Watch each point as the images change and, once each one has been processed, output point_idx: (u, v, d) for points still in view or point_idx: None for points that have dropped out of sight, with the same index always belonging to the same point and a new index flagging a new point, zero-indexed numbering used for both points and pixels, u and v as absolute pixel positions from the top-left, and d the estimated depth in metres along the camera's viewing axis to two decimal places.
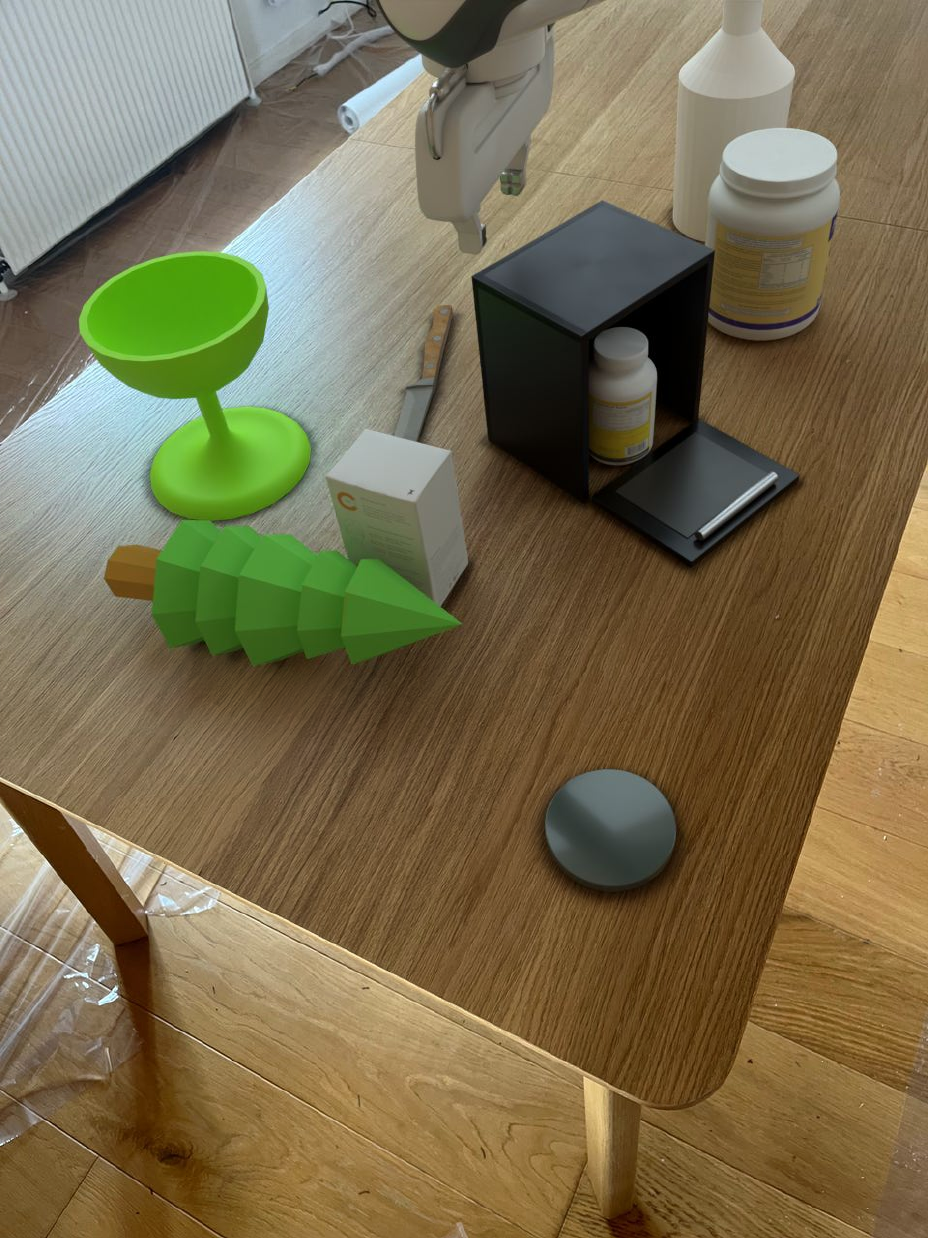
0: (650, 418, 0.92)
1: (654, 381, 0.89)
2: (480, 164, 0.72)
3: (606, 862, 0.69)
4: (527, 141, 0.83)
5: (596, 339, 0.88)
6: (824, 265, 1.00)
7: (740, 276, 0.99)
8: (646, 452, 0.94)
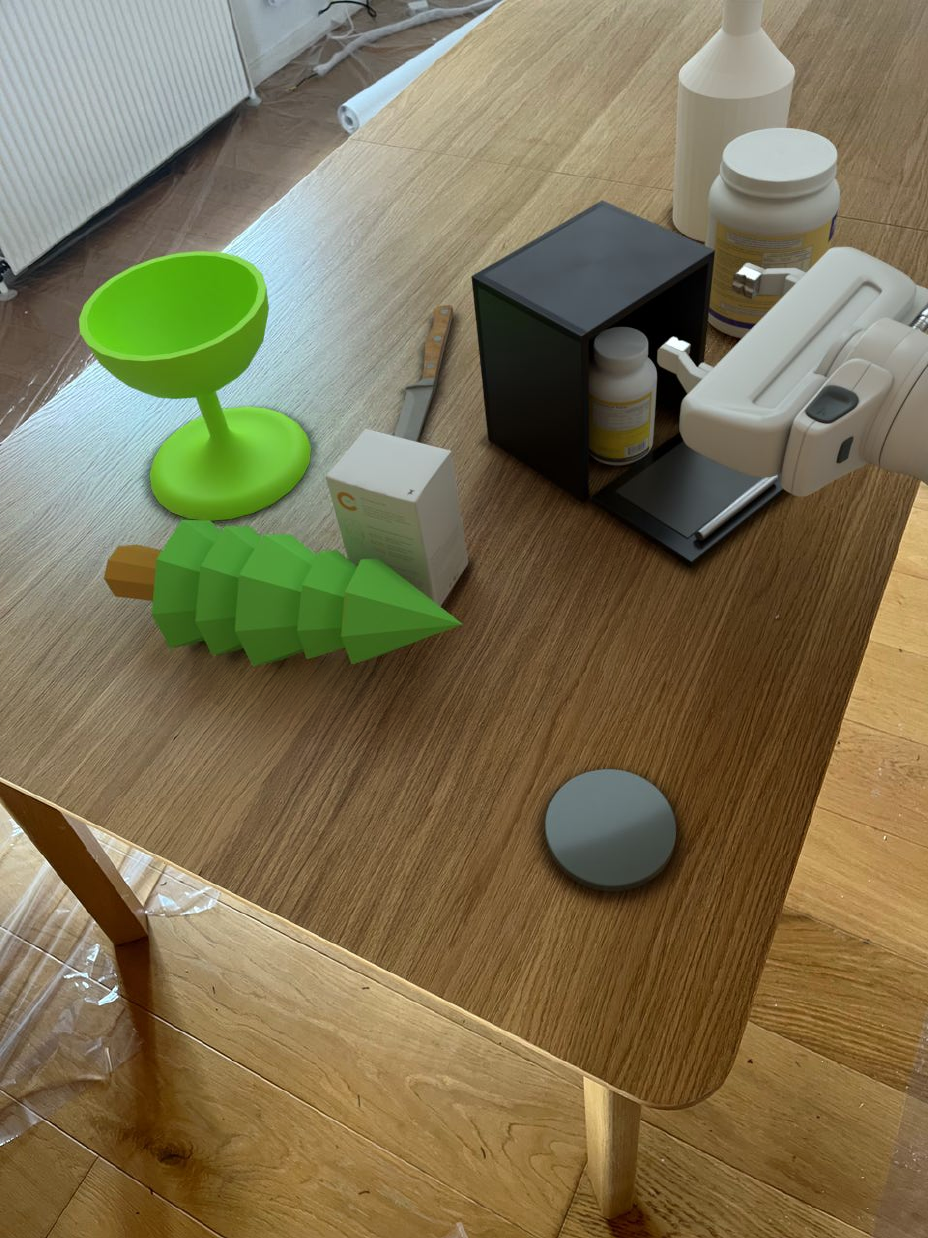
0: (650, 418, 0.92)
1: (654, 381, 0.89)
2: (846, 280, 0.72)
3: (606, 862, 0.69)
4: (701, 367, 0.70)
5: (596, 339, 0.88)
6: None
7: None
8: (646, 452, 0.94)
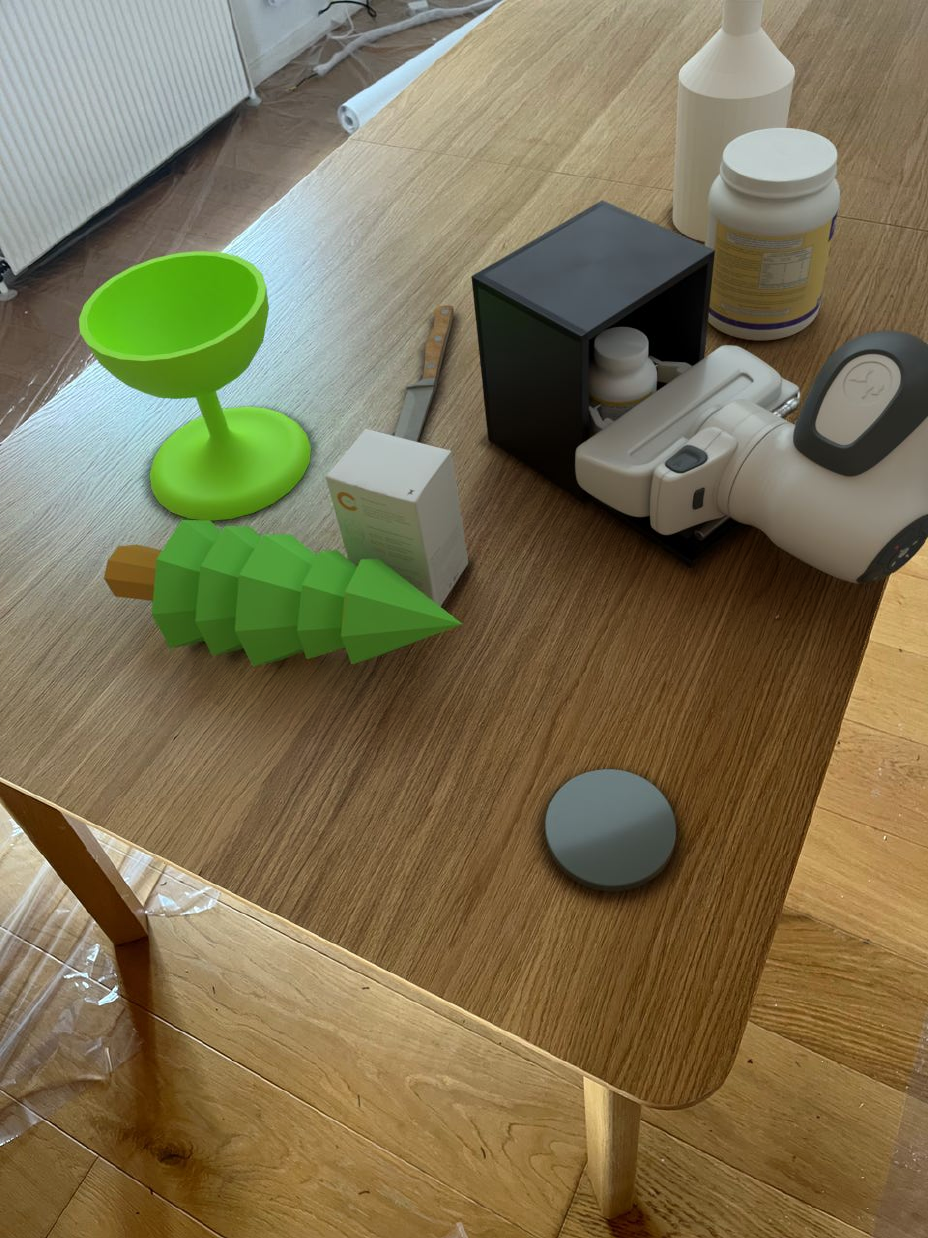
0: None
1: (654, 381, 0.89)
2: (727, 370, 0.89)
3: (606, 862, 0.69)
4: (605, 421, 0.87)
5: (596, 339, 0.88)
6: (824, 265, 1.00)
7: (740, 276, 0.99)
8: None
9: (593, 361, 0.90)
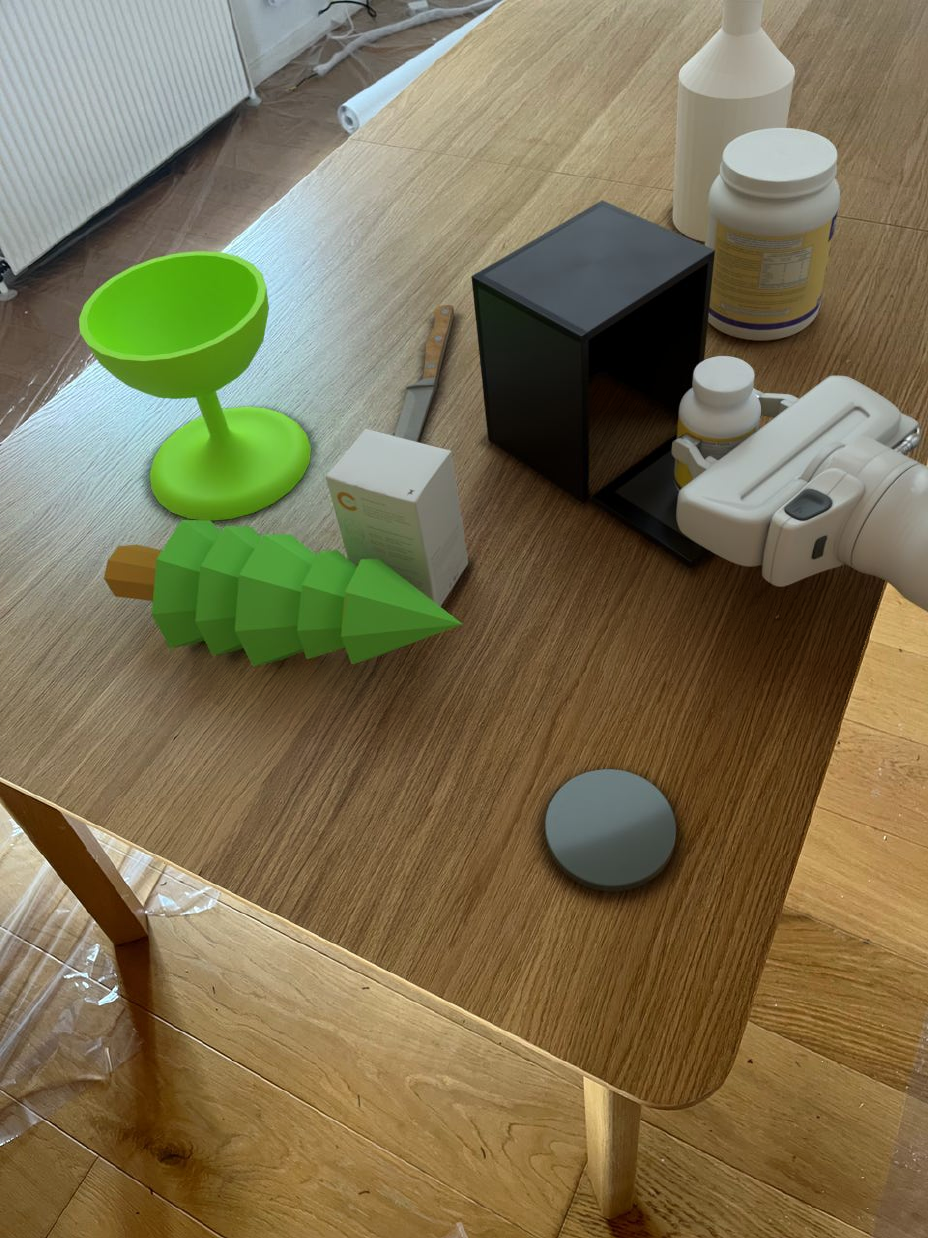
0: None
1: (759, 415, 0.81)
2: (839, 404, 0.81)
3: (606, 862, 0.69)
4: (708, 460, 0.79)
5: (696, 370, 0.80)
6: (824, 265, 1.00)
7: (740, 276, 0.99)
8: None
9: (690, 393, 0.82)
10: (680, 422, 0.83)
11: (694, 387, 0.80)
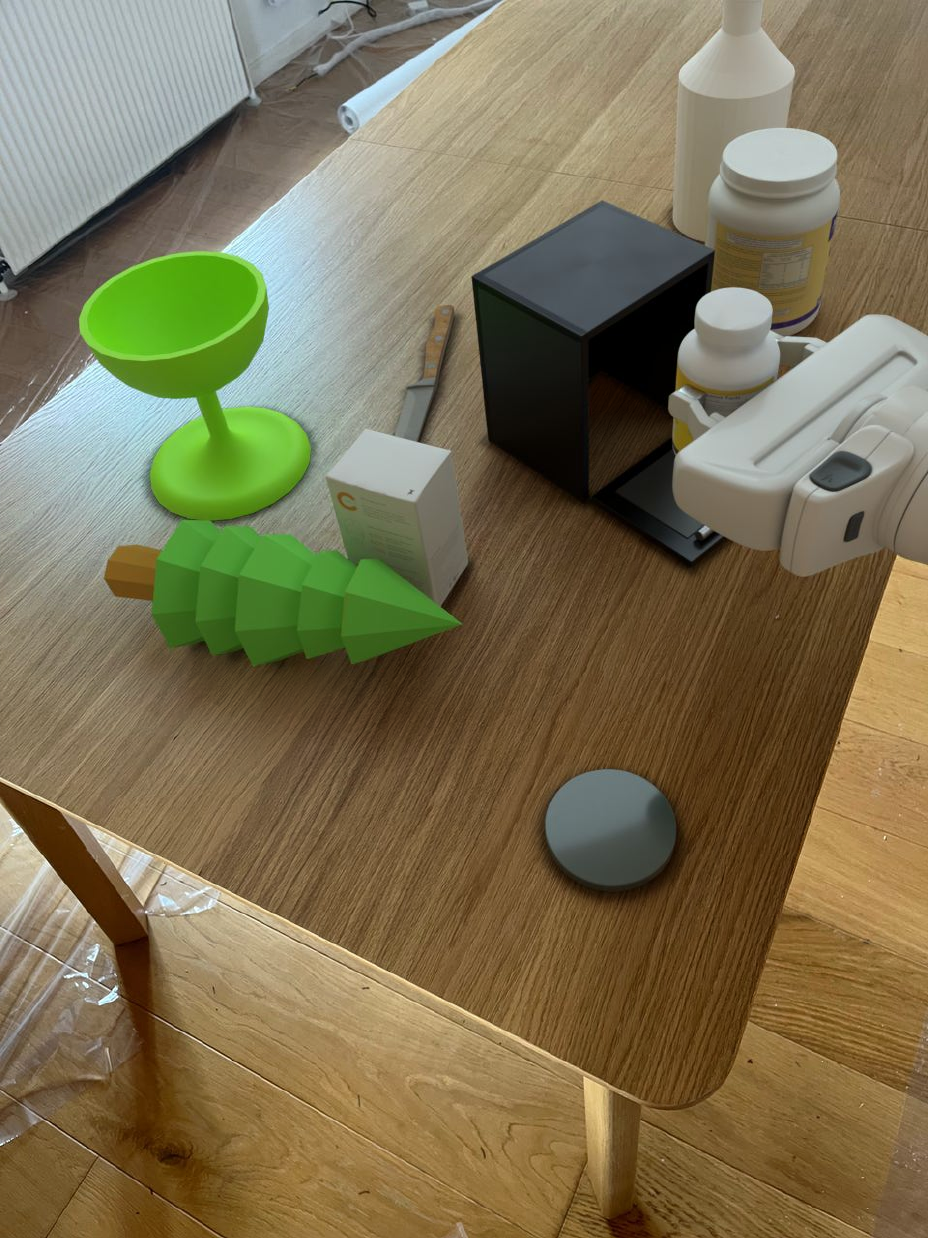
0: None
1: (778, 362, 0.65)
2: (878, 348, 0.65)
3: (606, 862, 0.69)
4: (713, 417, 0.63)
5: (699, 304, 0.64)
6: (824, 265, 1.00)
7: (740, 276, 0.99)
8: None
9: (692, 335, 0.66)
10: (679, 371, 0.67)
11: (696, 326, 0.64)
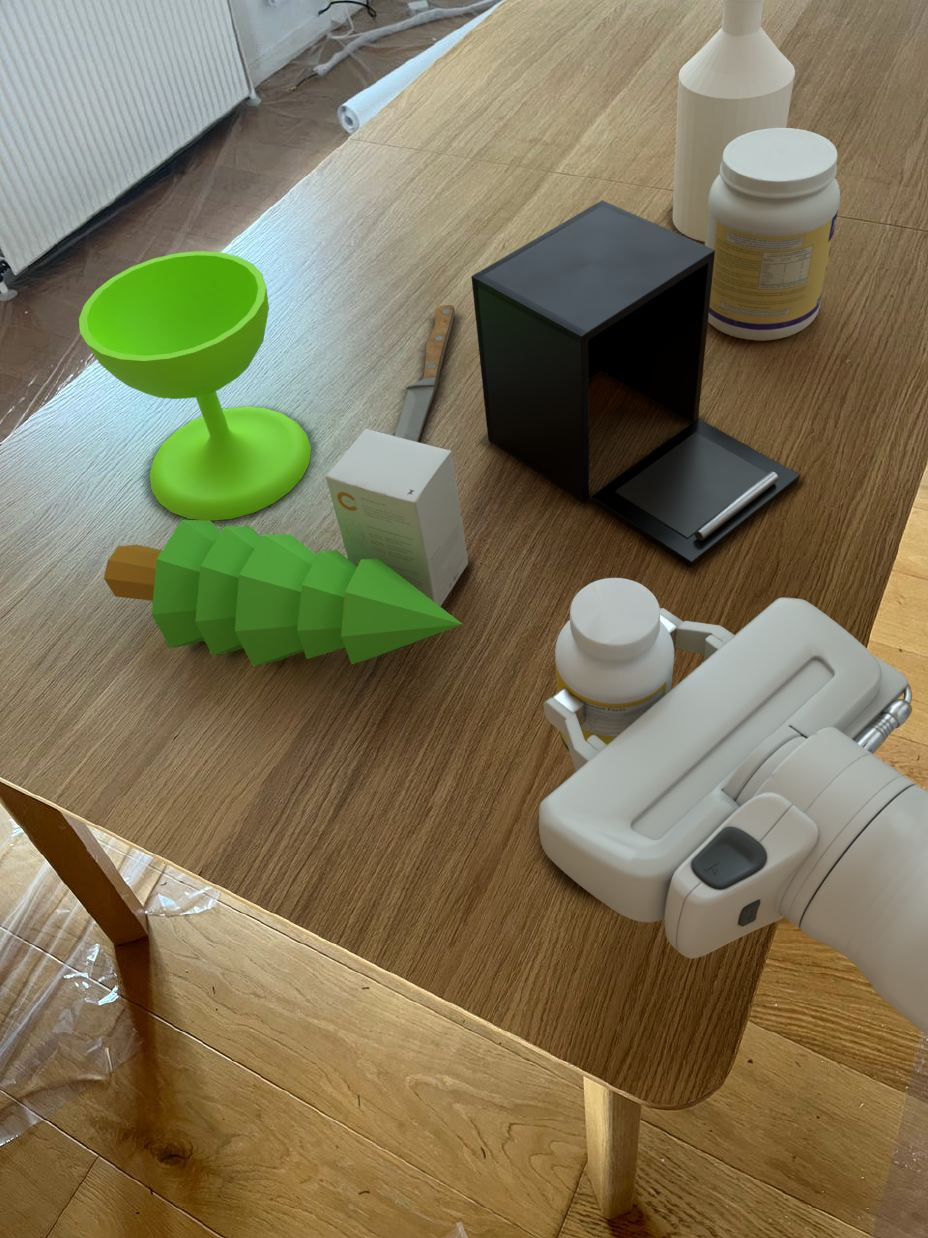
0: None
1: (670, 666, 0.55)
2: (789, 651, 0.54)
3: None
4: (590, 742, 0.53)
5: (575, 602, 0.54)
6: (824, 265, 1.00)
7: (740, 276, 0.99)
8: None
9: (571, 628, 0.56)
10: (556, 669, 0.56)
11: (571, 629, 0.54)
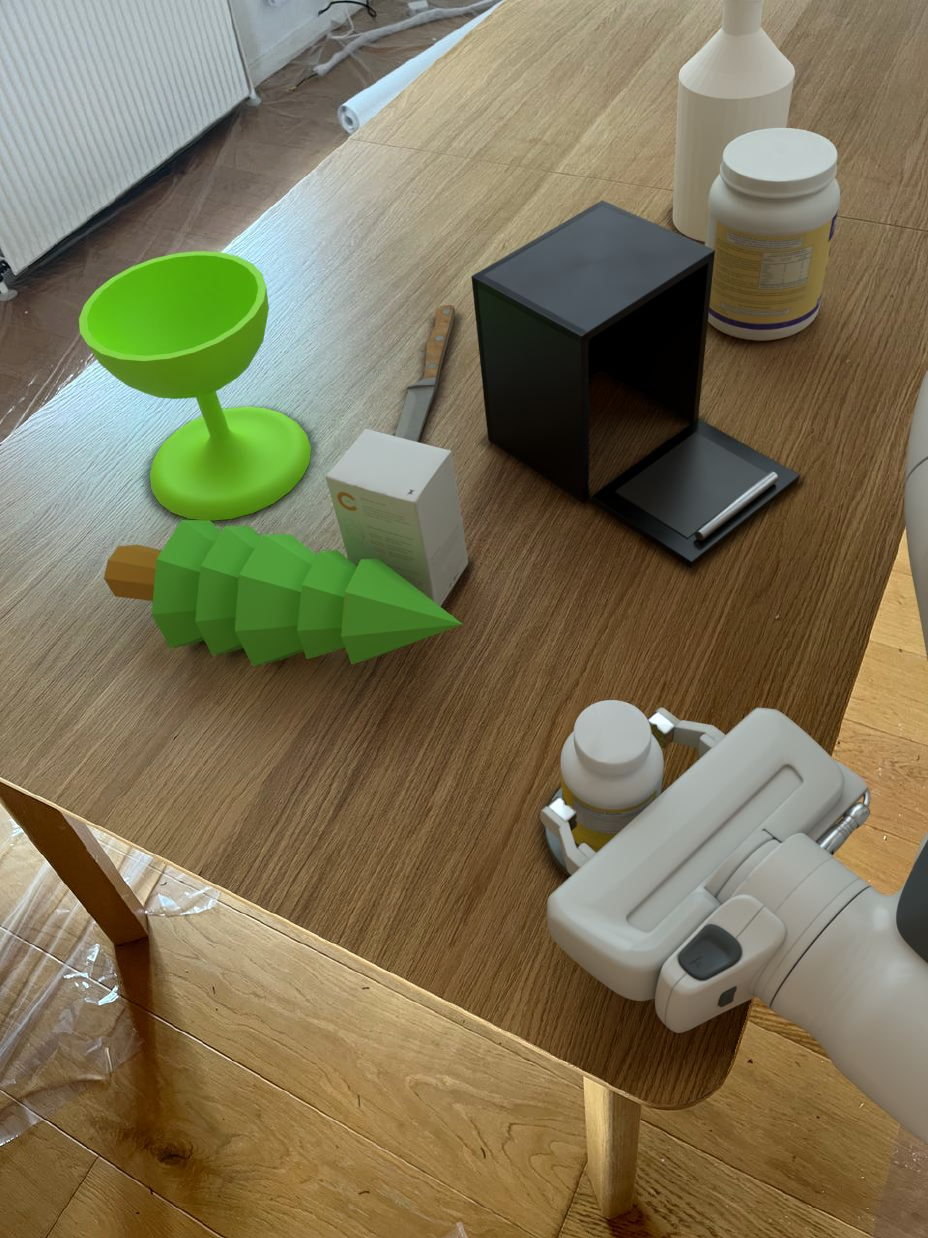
0: None
1: (660, 777, 0.63)
2: (764, 759, 0.62)
3: None
4: (581, 850, 0.61)
5: (578, 722, 0.62)
6: (824, 265, 1.00)
7: (740, 276, 0.99)
8: None
9: (574, 741, 0.64)
10: (561, 776, 0.65)
11: (575, 746, 0.62)
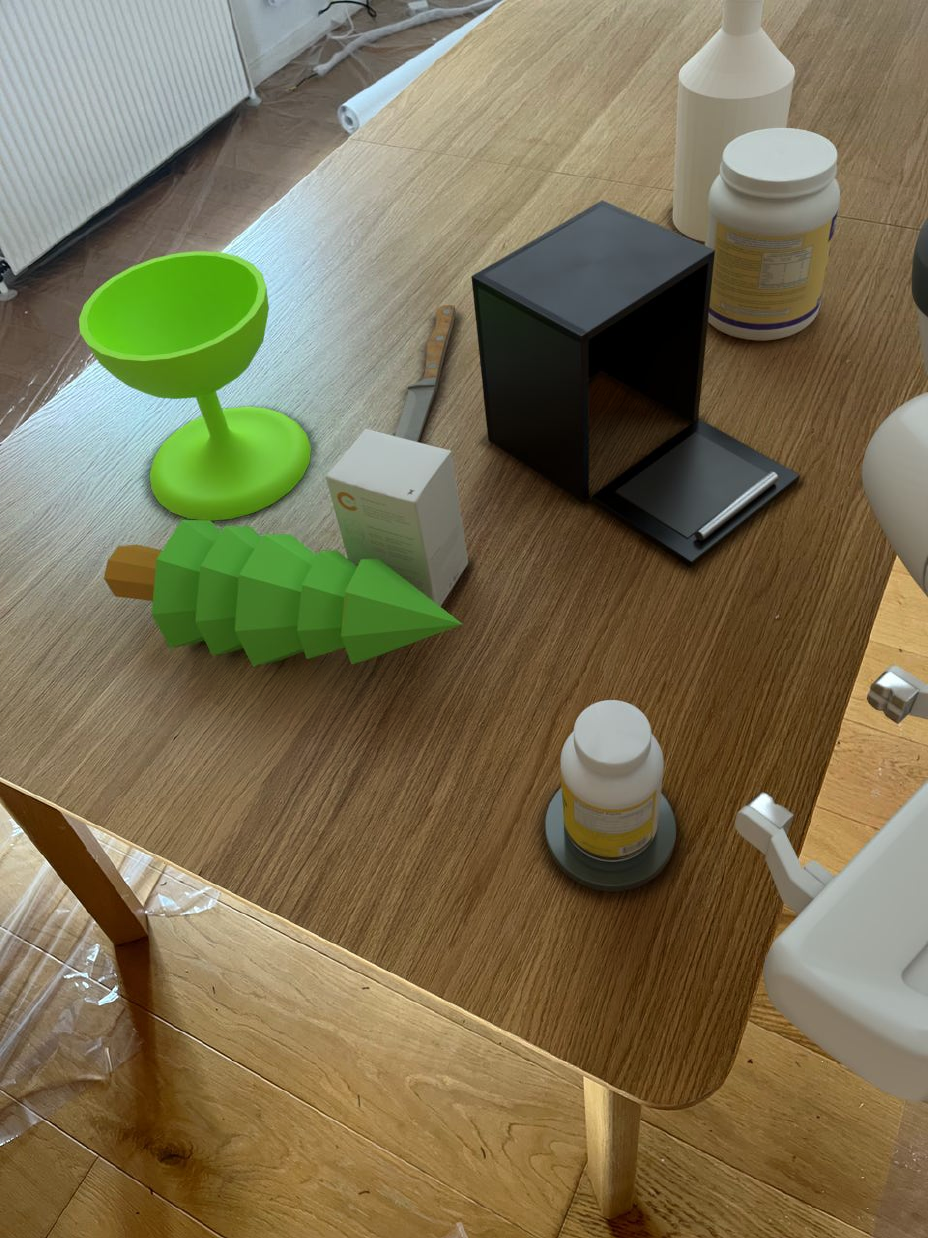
0: (654, 812, 0.66)
1: (660, 777, 0.63)
2: None
3: (606, 862, 0.69)
4: (810, 870, 0.41)
5: (578, 722, 0.62)
6: (824, 265, 1.00)
7: (740, 276, 0.99)
8: (648, 844, 0.68)
9: (574, 741, 0.64)
10: (561, 776, 0.65)
11: (575, 746, 0.62)
